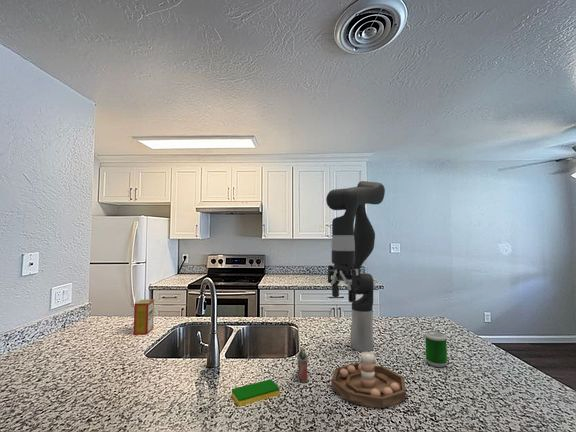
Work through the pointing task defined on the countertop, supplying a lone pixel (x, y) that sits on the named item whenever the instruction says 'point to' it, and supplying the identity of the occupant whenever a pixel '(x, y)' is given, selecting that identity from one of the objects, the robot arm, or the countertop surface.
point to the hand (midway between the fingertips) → (343, 299)
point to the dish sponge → (255, 392)
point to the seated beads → (374, 392)
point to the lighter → (302, 366)
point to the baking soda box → (143, 317)
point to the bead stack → (367, 370)
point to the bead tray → (361, 395)
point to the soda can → (436, 348)
